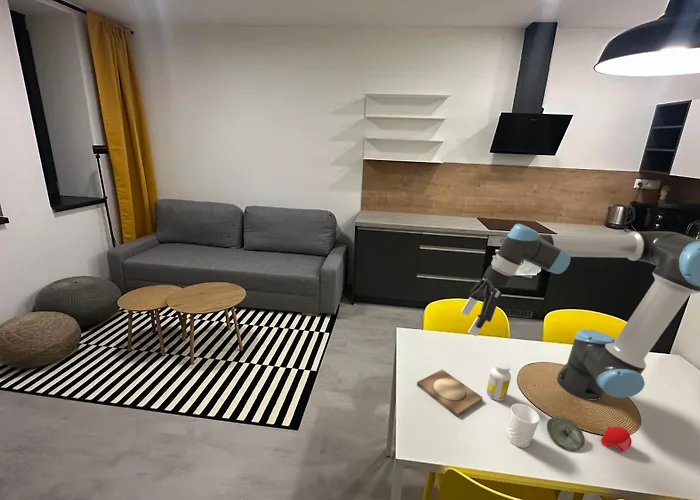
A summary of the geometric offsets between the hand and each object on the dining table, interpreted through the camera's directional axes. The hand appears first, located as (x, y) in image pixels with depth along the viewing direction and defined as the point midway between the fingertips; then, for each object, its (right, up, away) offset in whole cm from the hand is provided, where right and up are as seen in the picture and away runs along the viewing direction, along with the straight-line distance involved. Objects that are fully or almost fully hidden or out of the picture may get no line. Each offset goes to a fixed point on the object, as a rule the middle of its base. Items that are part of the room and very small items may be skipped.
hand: (468, 323), depth 118 cm
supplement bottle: (+13, -28, +8) cm, 32 cm away
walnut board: (-4, -27, +8) cm, 28 cm away
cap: (+42, -36, -10) cm, 56 cm away
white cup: (+12, -34, -10) cm, 37 cm away
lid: (+27, -34, -8) cm, 45 cm away
